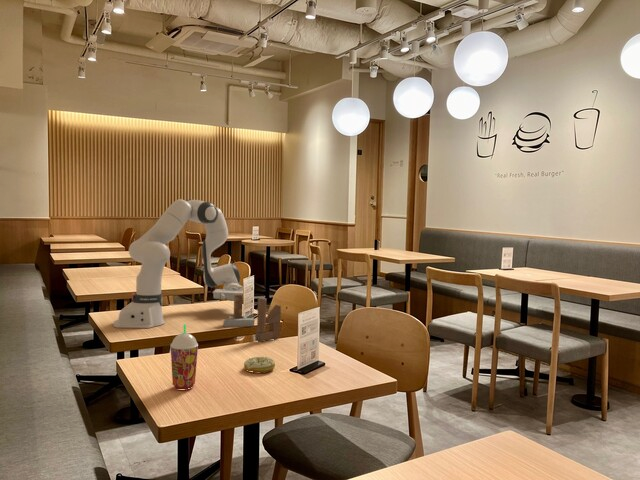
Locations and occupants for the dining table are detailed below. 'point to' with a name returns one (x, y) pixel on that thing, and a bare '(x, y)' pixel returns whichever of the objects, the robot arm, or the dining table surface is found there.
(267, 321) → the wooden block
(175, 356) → the smoothie
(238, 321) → the socket
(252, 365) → the decorated donut
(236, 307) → the plank
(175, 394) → the dining table surface
